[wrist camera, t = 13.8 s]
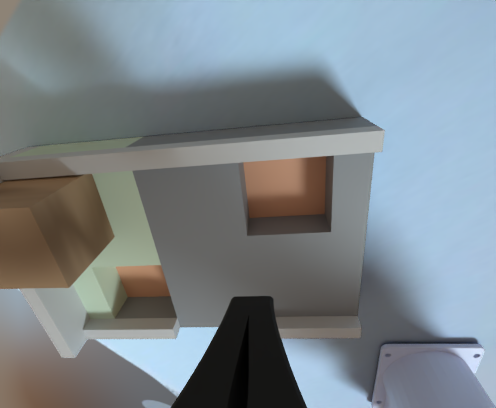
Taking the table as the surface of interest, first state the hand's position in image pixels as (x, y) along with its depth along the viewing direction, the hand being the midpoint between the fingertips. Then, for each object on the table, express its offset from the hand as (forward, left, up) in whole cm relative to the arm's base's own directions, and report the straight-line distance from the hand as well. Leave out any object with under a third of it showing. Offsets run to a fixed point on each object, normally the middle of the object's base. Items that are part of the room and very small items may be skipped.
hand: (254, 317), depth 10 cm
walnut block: (+1, +12, -7) cm, 14 cm away
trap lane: (-3, +4, -10) cm, 11 cm away
